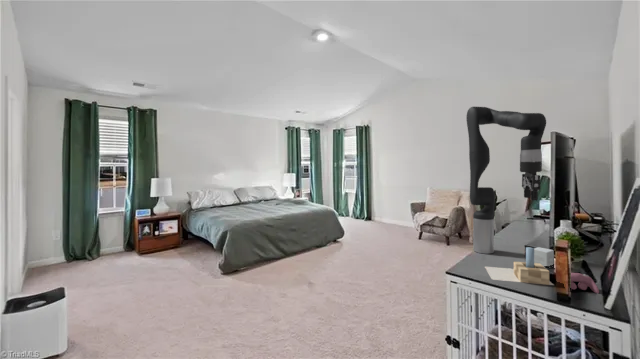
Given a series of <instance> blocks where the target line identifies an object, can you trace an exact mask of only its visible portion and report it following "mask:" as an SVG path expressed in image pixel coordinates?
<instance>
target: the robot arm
mask: <svg viewBox="0 0 640 359" xmlns="http://www.w3.org/2000/svg"><path fill="white" fill-rule="evenodd" d="M494 124H496V125H498V126H501V127H504V128H505V127H507V128H511V129H512V128H513V129H516V130H519V131H528V135H526V136H522V137H521V139H520V153H519V172H520V173H522V174H521V187H522V189H523V197H524V199H529V198H530V201H538V199H539V198H538V197H539V195H538V194H539V193H538V192H539V191H540V190H541V175H540V174H537V173H541V172H542V170H543V153H542V138H543V135H544V132H545V129H546V126H547V118H546V116H545V115H544V114H543V113H541V112H534V113H533V112H519V111H510V110H501V111H500V110H496V109H493V108H490V107H487V106H470V107H469V108H468V110H467V111H466V126H467V133H468V145H469V146H468V150H469V151H468V152H469V153H468V154H469V158H468V159H469V170H470V172H469V174H470V178H469V180H470V181H469V183H470V184H469V201H470V203H471V205H473V206H484V207H483V208H482V209H479V210H476V211H474V212H473V214H472V215H473V220H472V222H473V223H472V226H473V227H472V228H473V230H472V233H473V239H472V240H473V244H472V245H473V249H472V250H473V251H474V252H476V253H479V254H488V255H490V254H494V253H495V251H494V250H495V247H494V246H495V226H494V225H495V219H494V218H495V217H494V216H495V204H496V203H495V202H496V193H495V190H494V188H492V187H490V186H488V187H487V186H486V187H484V186H483V187H482V186H481V187H480V186H479V181H480V179H481V177H482V175H483V173H484V172H485V170H486V169H487V167H488V166H489V164H490V162H491V161H490V160H491V157H490V155H491V154H490V152H491V151H490V147H489V145H488V143H487V142H486V140H485V139H484V137H483V135H482V134H481V130H480V126H483V125H494Z"/></svg>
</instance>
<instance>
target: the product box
mask: <svg viewBox="0 0 640 359" xmlns="http://www.w3.org/2000/svg"><path fill="white" fill-rule="evenodd" d="M533 248H534V263H540V264H541V265H542V266H550V265H553V264H554V265H555V263H554V262H555V259H554V258H555V252H554V250H553V249H550V248H545V247H540V246H537V247H533Z"/></svg>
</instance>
